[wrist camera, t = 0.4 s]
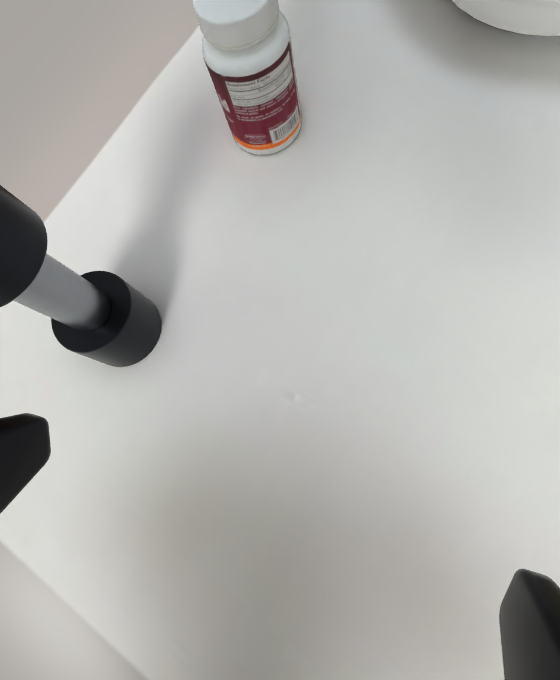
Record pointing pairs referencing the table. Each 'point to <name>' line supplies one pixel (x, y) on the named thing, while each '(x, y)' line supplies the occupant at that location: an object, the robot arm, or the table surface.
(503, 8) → the bowl
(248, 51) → the pill bottle
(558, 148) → the table surface
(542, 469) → the table surface
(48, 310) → the dumbbell
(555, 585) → the robot arm
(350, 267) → the table surface
